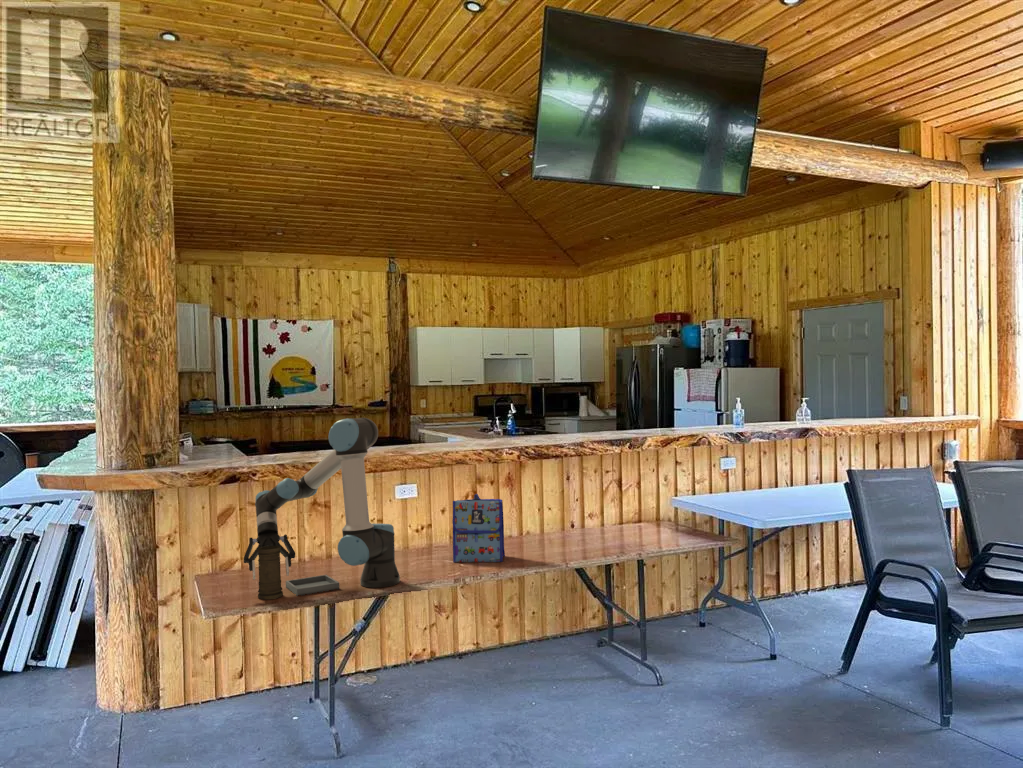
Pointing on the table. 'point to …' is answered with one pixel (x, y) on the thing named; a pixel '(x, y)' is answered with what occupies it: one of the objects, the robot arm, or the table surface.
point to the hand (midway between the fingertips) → (271, 575)
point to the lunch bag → (478, 530)
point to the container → (269, 572)
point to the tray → (312, 585)
